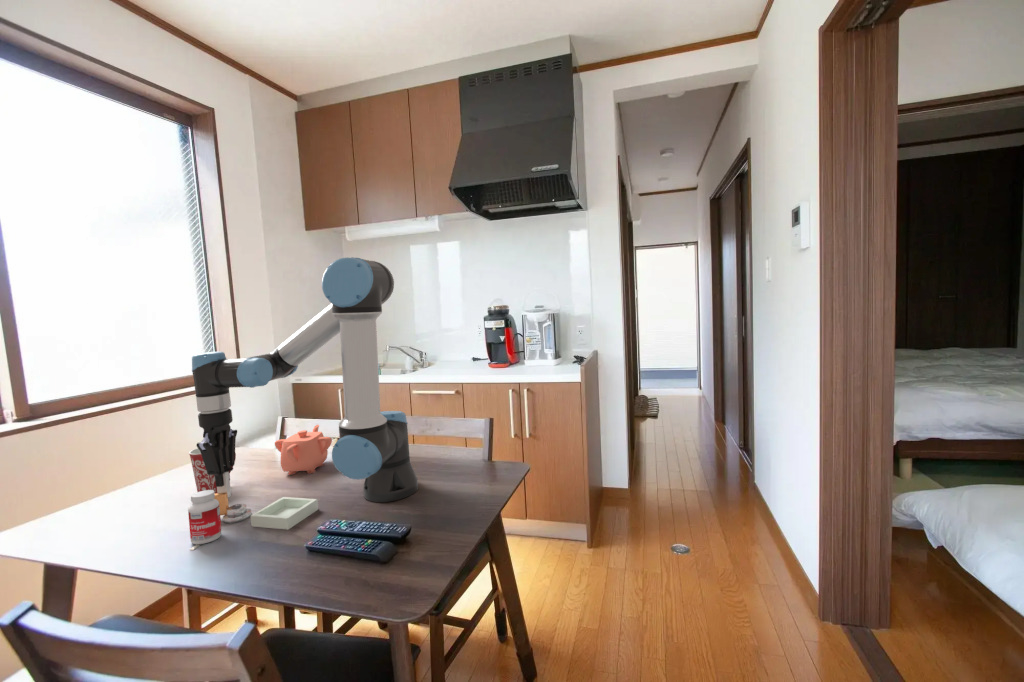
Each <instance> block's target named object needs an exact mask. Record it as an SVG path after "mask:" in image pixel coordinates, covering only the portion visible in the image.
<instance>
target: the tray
mask: <svg viewBox="0 0 1024 682" xmlns="http://www.w3.org/2000/svg"><path fill="white" fill-rule="evenodd" d="M318 510H319V502H318V498H306V497H305V498H304V497H292V496H291V497H290V496H282V497H280V498H278V499H277V500H275V501H273V502H271V503H270V504H268V505H266V506H264V507H263V508H261V509H259V510H258V511H256V512H254V513H252V515H250V522H251V523H250V524H251V527H255V528H256V527H257V528H265V529H267V528H269V529H277V530H278V529H279V530H290V529H291V528H293V527H294V526H296V525H297V524H299V523H300V522H302V521H303V520H305V519H306V518H308V517H309V516H311V515H313V514H314V513H316V512H317V511H318Z"/></svg>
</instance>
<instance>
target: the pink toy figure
mask: <svg viewBox="0 0 1024 682" xmlns="http://www.w3.org/2000/svg"><path fill="white" fill-rule="evenodd" d="M319 427H320V424H316V425H315V426H314V427H313V429H312V431H308V430H307V429H306V430H305V429H304V430H299V431H297V433H294V434H293V435H291V436H289V437H287V438H285V439H284V438H283V439H282V438H281V439H277V440H276V441H275V442H274V446H275V448H276V449H277V451H278V452H279V453H280V468H281V469H282V471H283V472H288V473H287V475H288V476H289V475H290V476H291V475H296V474H297V472H301V471H302V472H305V471H306V474H309V475H311V474H314V473H316V471H317V470H316V468H318V467H323V466H324V465H325V464H324V462H326V460H327V458H328V454H329V452H328V451H329V448H330V447H331V445H332V443H333V439H332V437H329V436H324V433H323V432H322V431H319Z"/></svg>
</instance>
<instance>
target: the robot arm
mask: <svg viewBox="0 0 1024 682" xmlns="http://www.w3.org/2000/svg"><path fill="white" fill-rule="evenodd" d="M394 287H395V279H394V277H393V274H392V272H391V270H389V268H388V267H386V265H384V264H383V263H381V262H378V261H375V260H368V259H364V258H360V257H353V256H351V257H342V258H339V259H336V260H334V261H333V262H331V263H330V264H329V266H327V267H326V269H325V271H324V273H323V274H322V279H321V290H322V292H323V294H324V297H325V298H326V299H327V300H328V301H329V302H330V304H329V305H328V306H326V307H325V308H323V310H322V311H320V312H319V313H318V314H316V315H315V316H314V317H313V318H312V319H310V320H308V321H307V323H305V324H304V325H303V326H302V327H300V328H299V329H298V330H297V331H295V332H294V333H293V334H292V335H290V336H289V337H288V338H287V339H286V340H284V341H283V342H282V343H281V344H280V345H278V346H277V347H275V348H274V349H273V350H272V351H271V352H269V353H265V354H260V355H254V356H250V357H242V358H230V359H229V358H227V357H226V354H225V352H224V351H209V352H208V351H207V352H206V351H205V352H201V353H195V354H194V355H193V356H192V357H191V372H192V376H193V377H192V379H193V385H194V390H195V398H196V408H197V412H199V413H198V414H197V418H198V426H199V428H202V430H203V433H202V436H203V437H202V438H203V439H202V440H201V442H200V441H199V442H197V443H196V447H197V448H198V449H199V450H200V452H201V455H202V458H203V461H204V464H205V467H206V470H207V473H208V475H214V476H215V482H216V487H217V493H226V492H227V495H228V498H229V497H231V496H232V490H231V476H230V475H231V473H230V474H229V471H231V472H232V471H233V470H234V466H235V463H236V459H235V453H236V439H237V435H238V429H232V428H231V426H230V424H231V423H233V419H234V418H233V412H232V409H231V406H232V401H231V394H230V388H256V387H264V386H266V385H267V384H268V383H269V382H270V381H274V380H278V379H285V378H287V377H289V376H291V375H293V374H294V373H295V372H296V371H298V370H297V369H298V367H299V365H300V364H301V363H302V362H304V361H306V360H307V359H308V358H309V357H310V356H312V355H313V354H315V353H316V352H317V351H318V350H319V349H321V348H323V346H325V345H326V344H327V343H328V342H330V341H331V340H332V339H333V338H335V337H336V336H338V334H340V336H339V337H340V351H341V368H342V370H341V371H342V372H341V373H342V374H341V375H342V387H343V388H342V390H343V408H344V409H343V410H344V417H343V418H342V420H340V422H339V423H338V433H339V434H338V437H339V438H338V440H337V441H336V442H335V443H334V446H333V447H332V450H331V460H332V462H333V466H334V468H335V469H336V470H337V471H338V472H340V473H341V474H342V476H344V477H346V478H348V479H352V480H364V482H363V483H364V484H363V487H362V488H363V489H362V490H363V497H364V498H365V500H367V501H369V502H375V503H385V502H386V503H387V502H388V503H389V502H394V501H398V500H402V499H404V498H408V497H410V496H411V495H414V493H416V492H417V491H418V489H419V481H418V477H417V475H416V473H415V470H414V467H413V466H412V463H411V459H410V447H409V446H410V445H409V431H408V421H407V415H406V413H405V412H403V411H401V410H385V411H381V398H380V394H381V393H380V377H379V355H378V354H379V353H378V336H377V319H378V317H380V316H381V314H383V309H382V306H383V304H385V303H386V302H387V301H389V298H390V297H392V296H391V295H392V294H393V293H394ZM231 466H233V468H231Z"/></svg>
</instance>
